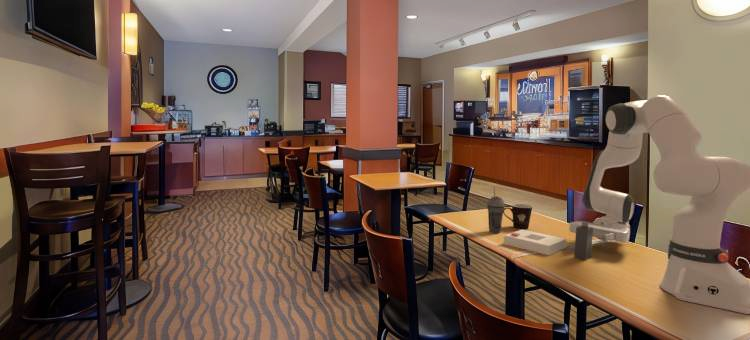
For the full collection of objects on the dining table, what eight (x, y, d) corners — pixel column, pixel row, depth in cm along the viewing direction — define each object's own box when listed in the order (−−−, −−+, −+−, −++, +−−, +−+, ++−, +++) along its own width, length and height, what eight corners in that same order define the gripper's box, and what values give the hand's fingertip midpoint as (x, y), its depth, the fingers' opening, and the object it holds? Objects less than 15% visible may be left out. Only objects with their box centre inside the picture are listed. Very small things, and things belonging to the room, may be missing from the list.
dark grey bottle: (590, 257, 154) (593, 221, 152) (585, 260, 151) (588, 223, 149) (579, 254, 157) (581, 219, 155) (574, 257, 153) (576, 221, 152)
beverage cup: (504, 235, 182) (506, 188, 179) (486, 233, 183) (488, 187, 181) (502, 230, 189) (505, 185, 186) (485, 229, 190) (487, 184, 188)
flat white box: (565, 247, 165) (566, 236, 164) (548, 255, 155) (549, 243, 155) (521, 237, 178) (522, 227, 177) (503, 244, 168) (504, 233, 168)
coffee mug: (534, 227, 194) (535, 206, 193) (525, 231, 188) (527, 208, 187) (509, 223, 202) (511, 202, 201) (501, 226, 196) (502, 204, 195)
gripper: (577, 215, 173) (562, 220, 164) (634, 225, 158) (621, 231, 149) (576, 231, 174) (561, 237, 164) (633, 242, 159) (620, 249, 149)
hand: (590, 234), depth 156 cm, fingers open, 8 cm apart
